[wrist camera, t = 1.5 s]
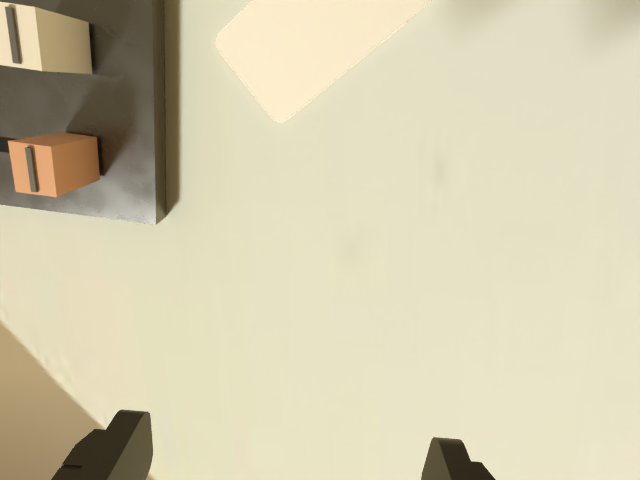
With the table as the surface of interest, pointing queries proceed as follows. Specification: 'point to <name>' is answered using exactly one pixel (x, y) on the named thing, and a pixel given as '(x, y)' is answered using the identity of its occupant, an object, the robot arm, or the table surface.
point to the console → (98, 111)
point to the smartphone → (305, 45)
